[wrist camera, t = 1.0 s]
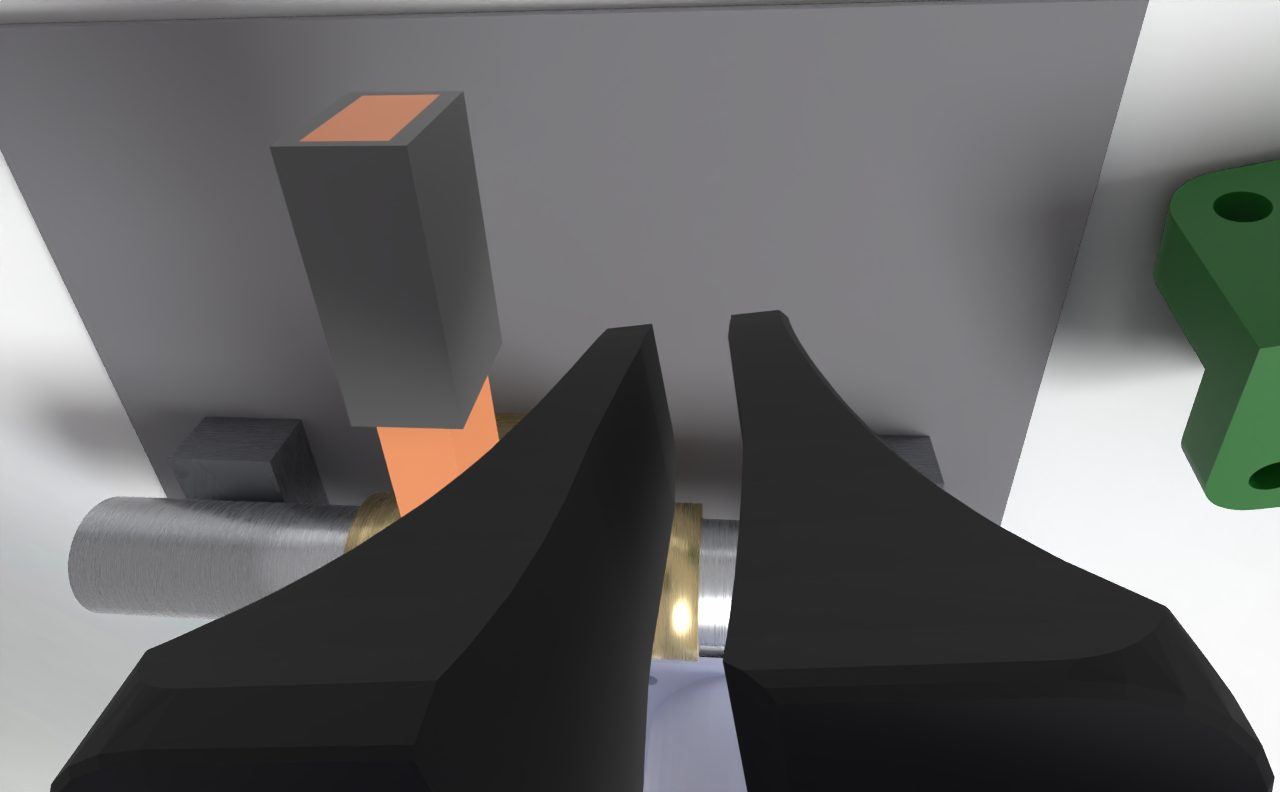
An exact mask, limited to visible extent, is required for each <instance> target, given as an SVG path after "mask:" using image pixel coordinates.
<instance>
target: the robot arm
mask: <svg viewBox="0 0 1280 792" xmlns="http://www.w3.org/2000/svg"><path fill="white" fill-rule="evenodd" d="M728 341H729V348H730V356H731V363H732V370H733V377H734V385H735V392H736V399H737V406H738V414H739V421H740V428H741V435H742V443H743V460H742V485H741V502H740V518H739V532H738V543H737V554H736V565H735V576H734V585H733V592H732V600H731V607H730V615H729V622H728V630H727V638H726V644H725V650H724V656H723V658H711V657H699V660H698V662H695V661H677V660H659V659H651V658H652V649H653V643H654V637H655V631H656V625H657V618H658V612H659V606H660V600H661V594H662V587H663V581H664V575H665V569H666V563H667V556H668V550H669V543H670V537H671V531H672V524H673V517H674V510H675V483H676V444H675V439H674V433H673V428H672V423H671V418H670V413H669V408H668V403H667V397H666V392H665V387H664V382H663V377H662V372H661V367H660V361H659V356H658V351H657V346H656V341H655V336H654V330H653V325H652V324H644V325H635V326H626V327H617V328H608V329H606V330H605V331H604V332H603V333H602V334H601V335H600V336H599V337H598V338H597V340H596V341H595V342H594V343H593V344H592V345H591V346H590V347H589V348H588V350H587V351H586V352H585V353H584V354H583V355H582V356H581V357H580V359H579V360H578V361H577V362H576V363H575V364H574V365H573V366H572V367H571V369H570V370H569V371H568V372H567V373H566V374H565V375H564V376H563V377H562V378H561V379H560V381H559V382H558V383H557V384H556V385H555V386H554V387H553V388H552V389H551V390H550V391H549V392H548V393H547V394H546V396H545V397H544V398H543V399H542V400H541V401H540V402H539V403H538V404H537V405H536V406H535V407H534V408H533V409H532V410H531V411H530V412H529V413H528V414H527V415H526V416H525V417H524V418H523V419H522V420H521V421H519V422H518V423H517V424H516V425H515V426H514V427H513V428H512V429H511V430H510V431H509V432H508V433H507V434H506V435H505V436H504V437H503V438H502V439H501V440H500V441H499V442H498V443H496V444H495V445H494V446H493V447H492V448H491V449H490V450H489V451H488V452H487V453H486V454H484V455H483V456H482V457H481V458H480V459H479V460H477V461H476V462H475V463H474V464H473V465H471V466H470V467H469V468H468V469H467V470H465V471H464V472H463V473H462V474H460V475H459V476H458V477H457V478H455V479H454V480H453V481H451V482H450V483H449V484H447V485H446V486H445V487H444V488H442V489H441V490H440V491H438V492H437V493H436V494H435V495H433V496H432V497H430V498H429V499H428V500H426V501H425V502H424V503H422V504H421V505H419V506H418V507H416V508H415V509H413V510H412V511H410V512H409V513H407V514H406V515H404V516H403V517H401V518H400V519H398V520H397V521H395V522H393V523H392V524H390V525H389V526H387V527H386V528H384V529H383V530H381V531H380V532H378V533H377V534H375V535H374V536H372V537H371V538H369V539H368V540H366V541H365V542H363V543H362V544H360V545H358V546H357V547H355V548H353V549H352V550H350V551H348V552H347V553H345V554H343V555H341V556H340V557H338V558H336V559H334V560H333V561H331V562H329V563H327V564H326V565H324V566H322V567H320V568H319V569H317V570H315V571H313V572H311V573H309V574H308V575H306V576H304V577H302V578H300V579H298V580H296V581H294V582H293V583H291V584H289V585H287V586H285V587H283V588H281V589H279V590H278V591H276V592H274V593H272V594H270V595H268V596H266V597H264V598H261V599H259V600H257V601H255V602H253V603H251V604H249V605H247V606H245V607H243V608H241V609H238V610H236V611H234V612H232V613H230V614H227V615H225V616H223V617H221V618H219V619H216V620H214V621H212V622H210V623H208V624H205V625H203V626H201V627H199V628H197V629H194V630H192V631H190V632H188V633H186V634H183V635H181V636H179V637H177V638H175V639H173V640H170V641H168V642H165V643H163V644H161V645H158V646H156V647H154V648H151V649H149V650H147V651H146V652H145V653H144V655H143V656H142V658H141V659H140V661H139V662H138V663H137V665H136V666H135V668H134V669H133V671H132V672H131V673H130V675H129V676H128V678H127V679H126V680H125V682H124V683H123V684H122V686H121V687H120V689H119V690H118V691H117V693H116V694H115V696H114V697H113V698H112V700H111V701H110V703H109V704H108V705H107V707H106V708H105V710H104V711H103V712H102V714H101V715H100V717H99V718H98V719H97V721H96V722H95V724H94V725H93V726H92V728H91V729H90V731H89V732H88V733H87V735H86V736H85V738H84V739H83V740H82V742H81V743H80V745H79V746H78V747H77V749H76V750H75V752H74V753H73V754H72V756H71V757H70V759H69V760H68V761H67V763H66V764H65V766H64V767H63V768H62V770H61V771H60V773H59V774H58V775H57V777H56V778H55V780H54V781H53V782H52V784H51V789H50V792H643V788H644V792H1272V789H1273V783H1274V775H1273V772H1272V770H1271V767H1270V764H1269V762H1268V759H1267V757H1266V754H1265V752H1264V749H1263V746H1262V745H1261V743H1260V741H1259V739H1258V737H1257V736H1256V734H1255V732H1254V730H1253V729H1252V727H1251V725H1250V723H1249V722H1248V720H1247V718H1246V716H1245V715H1244V713H1243V711H1242V710H1241V708H1240V706H1239V704H1238V703H1237V701H1236V699H1235V698H1234V696H1233V695H1232V693H1231V692H1230V690H1229V689H1228V687H1227V686H1226V685H1225V683H1224V682H1223V680H1222V679H1221V678H1220V676H1219V675H1218V674H1217V672H1216V671H1215V669H1214V668H1213V667H1212V665H1211V664H1210V662H1209V661H1208V660H1207V658H1206V657H1205V656H1204V654H1203V653H1202V652H1201V651H1200V649H1199V648H1198V647H1197V645H1196V644H1195V643H1194V641H1193V640H1192V639H1191V637H1190V636H1189V635H1188V633H1187V632H1186V631H1185V630H1184V628H1183V627H1182V626H1181V624H1180V623H1179V622H1178V620H1177V619H1176V618H1175V616H1174V615H1173V614H1172V613H1171V611H1170V610H1169V609H1168V608H1167V607H1166V606H1164V605H1162V604H1159V603H1157V602H1155V601H1153V600H1150V599H1148V598H1146V597H1144V596H1141V595H1139V594H1137V593H1135V592H1133V591H1130V590H1128V589H1126V588H1124V587H1121V586H1119V585H1117V584H1115V583H1112V582H1110V581H1108V580H1106V579H1104V578H1101V577H1099V576H1097V575H1095V574H1092V573H1090V572H1088V571H1086V570H1084V569H1081V568H1079V567H1077V566H1075V565H1072V564H1070V563H1068V562H1066V561H1064V560H1062V559H1060V558H1058V557H1056V556H1054V555H1052V554H1050V553H1048V552H1046V551H1044V550H1042V549H1041V548H1039V547H1037V546H1035V545H1033V544H1031V543H1030V542H1028V541H1026V540H1024V539H1022V538H1020V537H1019V536H1017V535H1015V534H1013V533H1011V532H1009V531H1007V530H1006V529H1004V528H1002V527H1000V526H999V525H997V524H995V523H994V522H992V521H990V520H989V519H987V518H985V517H984V516H982V515H981V514H979V513H978V512H976V511H975V510H973V509H972V508H970V507H969V506H967V505H966V504H964V503H963V502H961V501H960V500H958V499H956V498H955V497H953V496H952V495H950V494H949V493H947V492H946V491H944V490H943V489H941V488H940V487H938V486H937V485H936V484H935V483H933V482H932V481H931V480H929V479H928V478H927V477H925V476H924V475H923V474H922V473H920V472H919V471H918V470H916V469H915V468H914V467H913V466H911V465H910V464H909V463H908V462H907V461H906V460H904V459H903V458H902V457H901V456H900V455H898V454H897V453H896V452H895V451H894V450H893V449H891V448H890V447H889V446H888V445H887V444H886V443H885V442H884V441H883V440H882V439H881V438H880V437H879V436H877V435H876V434H875V433H874V432H873V431H872V430H871V429H870V428H869V427H868V426H867V425H866V424H865V423H864V422H863V420H862V419H861V418H860V417H859V416H858V415H857V414H856V413H855V412H854V411H853V410H852V409H851V408H850V407H849V406H848V405H847V403H846V402H845V401H844V400H843V399H842V398H841V397H840V395H839V394H838V393H837V392H836V391H835V389H834V388H833V387H832V386H831V384H830V383H829V382H828V381H827V379H826V378H825V377H824V376H823V374H822V373H821V372H820V371H819V369H818V368H817V367H816V365H815V364H814V362H813V361H812V360H811V358H810V357H809V355H808V354H807V352H806V351H805V349H804V348H803V346H802V344H801V343H800V341H799V339H798V338H797V336H796V334H795V332H794V330H793V328H792V326H791V324H790V321H789V317H788V316H786V315H785V314H784V313H783V312H781V311H780V310H772V311H763V312H754V313H745V314H736V315H731V319H730V324H729V332H728Z"/></svg>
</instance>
